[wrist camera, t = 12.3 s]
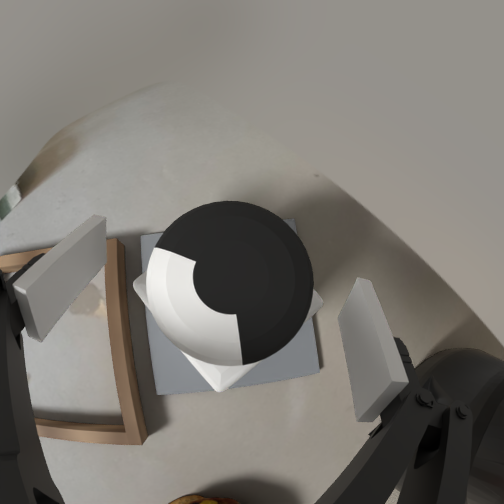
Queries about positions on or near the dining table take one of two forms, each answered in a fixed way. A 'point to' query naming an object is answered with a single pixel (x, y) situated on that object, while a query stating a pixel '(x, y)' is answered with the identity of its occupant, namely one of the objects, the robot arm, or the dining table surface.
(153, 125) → the dining table surface
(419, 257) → the dining table surface
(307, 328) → the slate mat
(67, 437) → the walnut caddy
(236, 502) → the burger
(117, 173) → the dining table surface
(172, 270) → the medicine bottle
